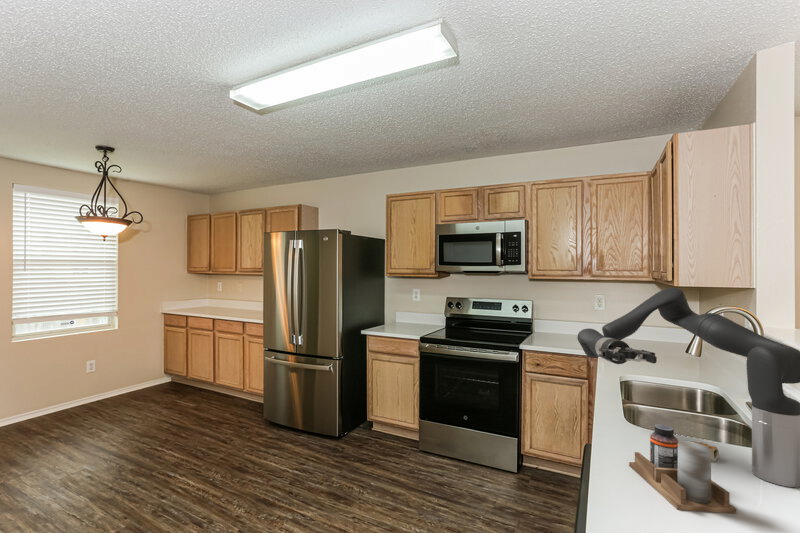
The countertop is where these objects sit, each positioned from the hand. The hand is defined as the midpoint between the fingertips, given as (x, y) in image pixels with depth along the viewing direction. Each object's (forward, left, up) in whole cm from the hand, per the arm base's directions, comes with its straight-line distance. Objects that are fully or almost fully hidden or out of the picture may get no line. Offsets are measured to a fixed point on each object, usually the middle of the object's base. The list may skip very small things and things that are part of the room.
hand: (639, 359), depth 112 cm
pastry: (-19, -3, -28) cm, 33 cm away
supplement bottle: (0, +12, -26) cm, 29 cm away
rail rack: (0, +17, -27) cm, 32 cm away
